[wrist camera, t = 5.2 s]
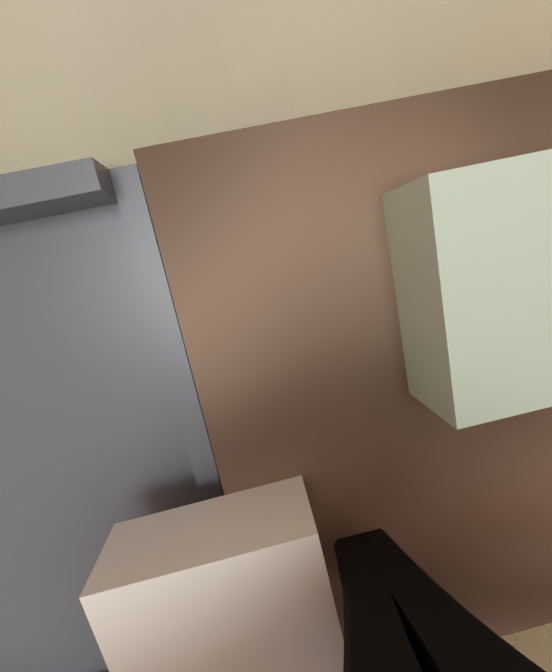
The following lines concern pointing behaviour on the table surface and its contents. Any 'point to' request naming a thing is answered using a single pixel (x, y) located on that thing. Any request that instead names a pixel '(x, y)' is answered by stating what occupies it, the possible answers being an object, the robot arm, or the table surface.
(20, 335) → the box
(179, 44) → the table surface
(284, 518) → the tile cream
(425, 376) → the tile green
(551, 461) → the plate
